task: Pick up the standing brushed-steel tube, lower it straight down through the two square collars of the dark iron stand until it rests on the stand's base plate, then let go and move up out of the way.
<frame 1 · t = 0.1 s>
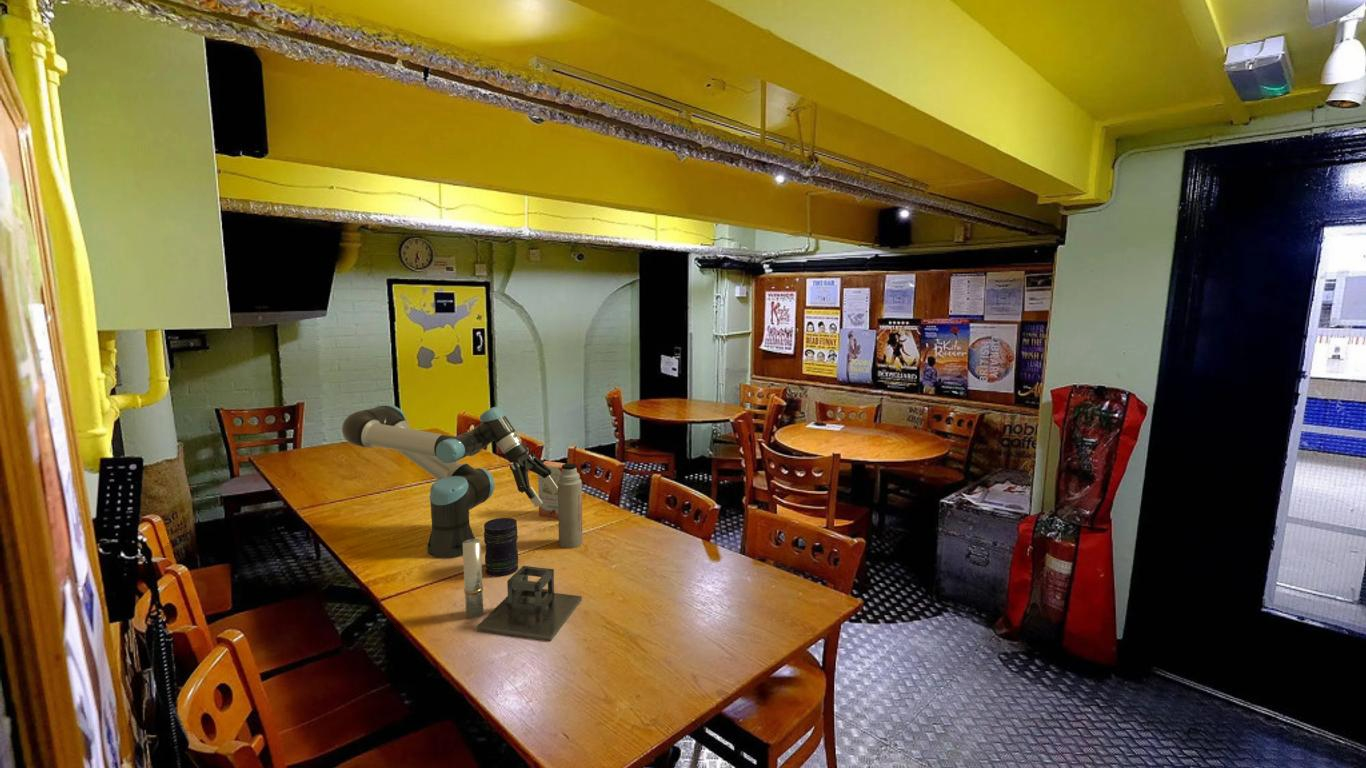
hand: (548, 498, 197), 15 cm above the table, tool tilted 35°, fingers open, 13 cm apart
cracker box: (557, 516, 223), on the table
collar stand: (532, 614, 152), on the table
storage jar: (502, 570, 178), on the table
steel tube: (474, 613, 152), on the table
thermos bottle: (570, 544, 197), on the table
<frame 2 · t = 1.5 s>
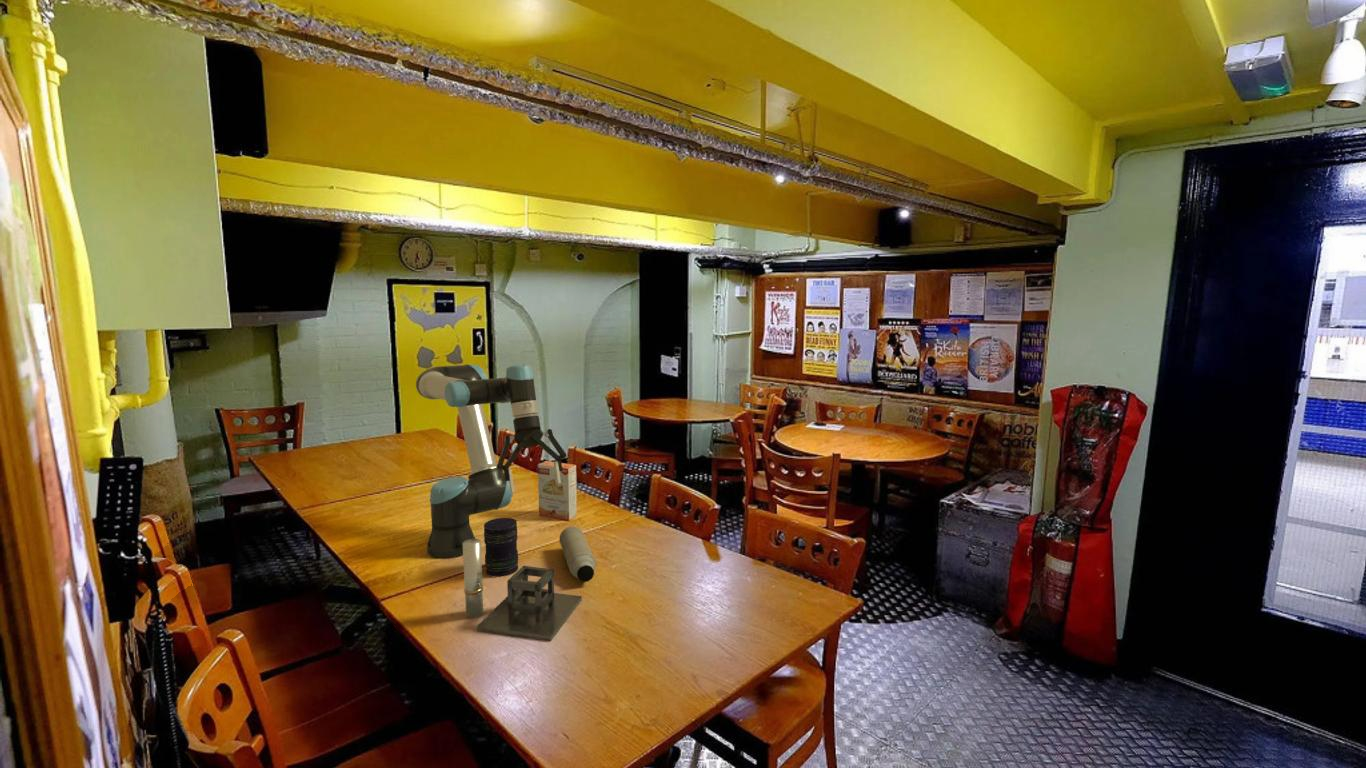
hand: (536, 487, 170), 28 cm above the table, tool tilted 15°, fingers open, 13 cm apart
thermos bottle: (571, 537, 193), point 4 cm above the table
everything else where it was.
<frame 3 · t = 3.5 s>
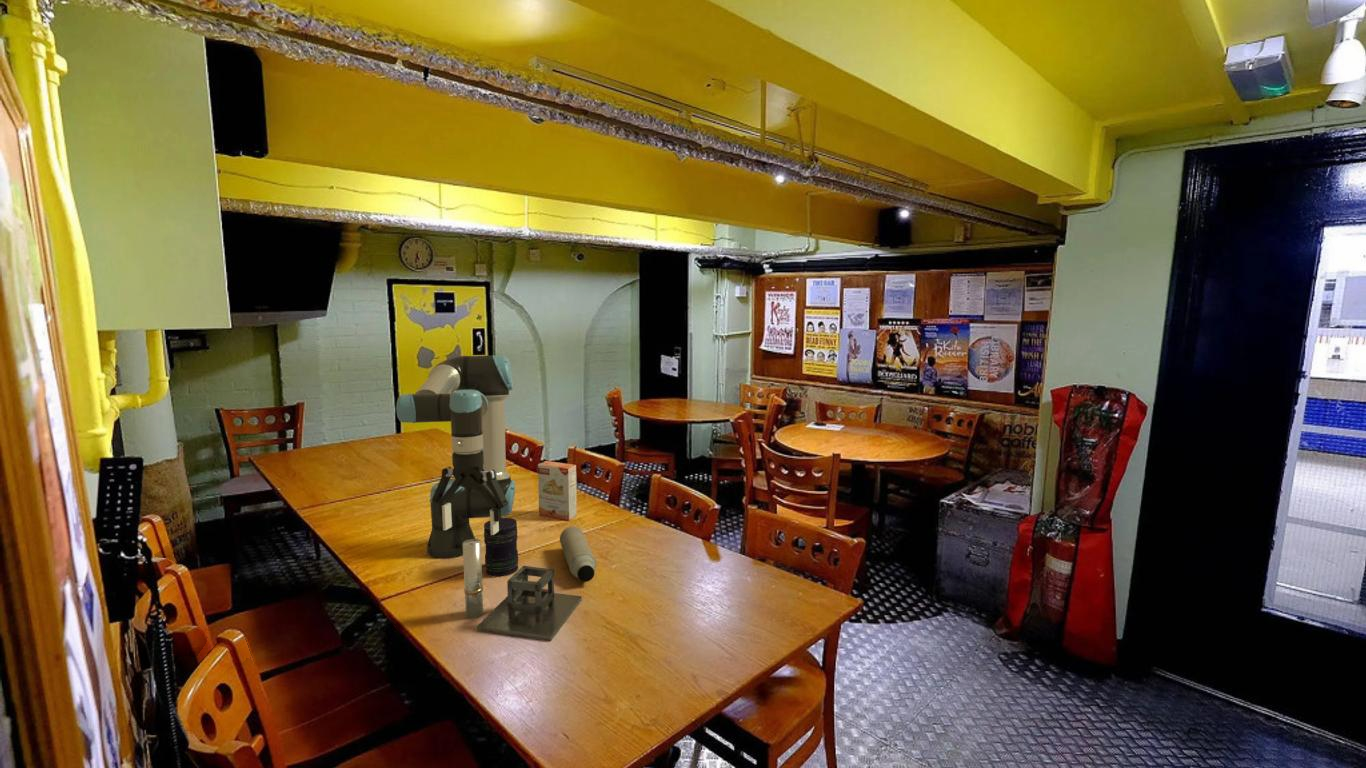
hand: (470, 530, 149), 23 cm above the table, tool pointing down, fingers open, 13 cm apart
nothing on the table moved.
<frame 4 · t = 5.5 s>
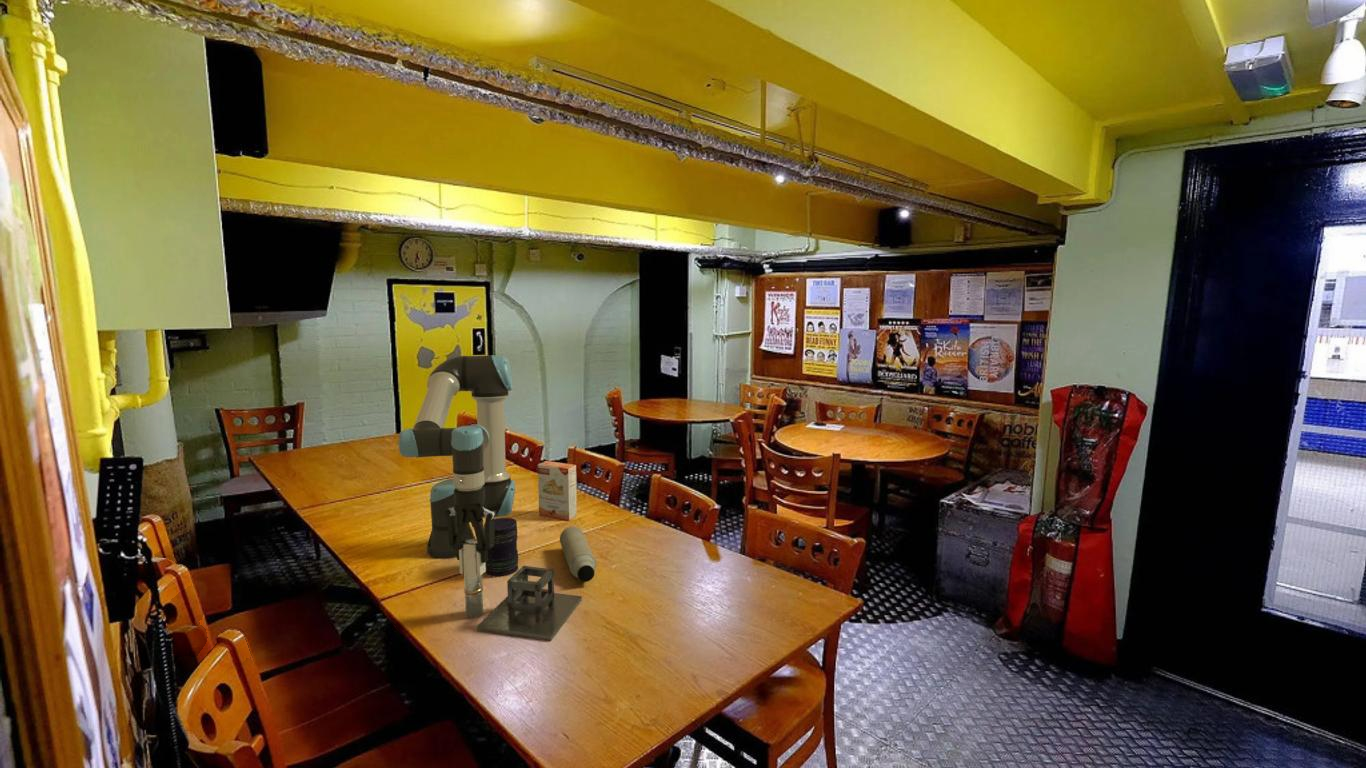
hand: (472, 572, 151), 12 cm above the table, tool pointing down, fingers closed on steel tube, 4 cm apart
steel tube: (474, 613, 152), on the table, touching gripper
everything else where it was.
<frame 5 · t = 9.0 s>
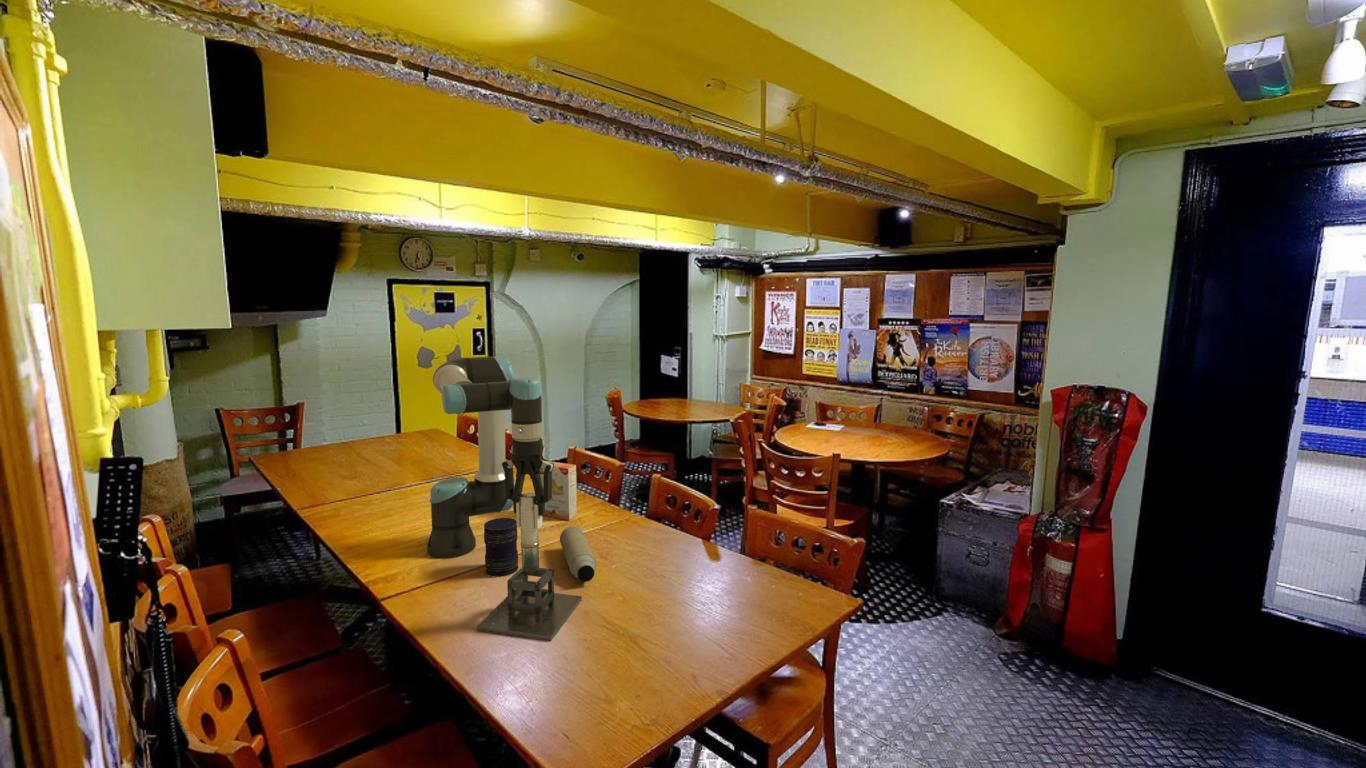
hand: (529, 526, 149), 25 cm above the table, tool pointing down, fingers closed on steel tube, 4 cm apart
steel tube: (530, 568, 150), point 13 cm above the table, touching gripper
everything else where it was.
when the fingers open (14 cm above the table, at t = 12.4 s): steel tube drops 1 cm, resting on collar stand.
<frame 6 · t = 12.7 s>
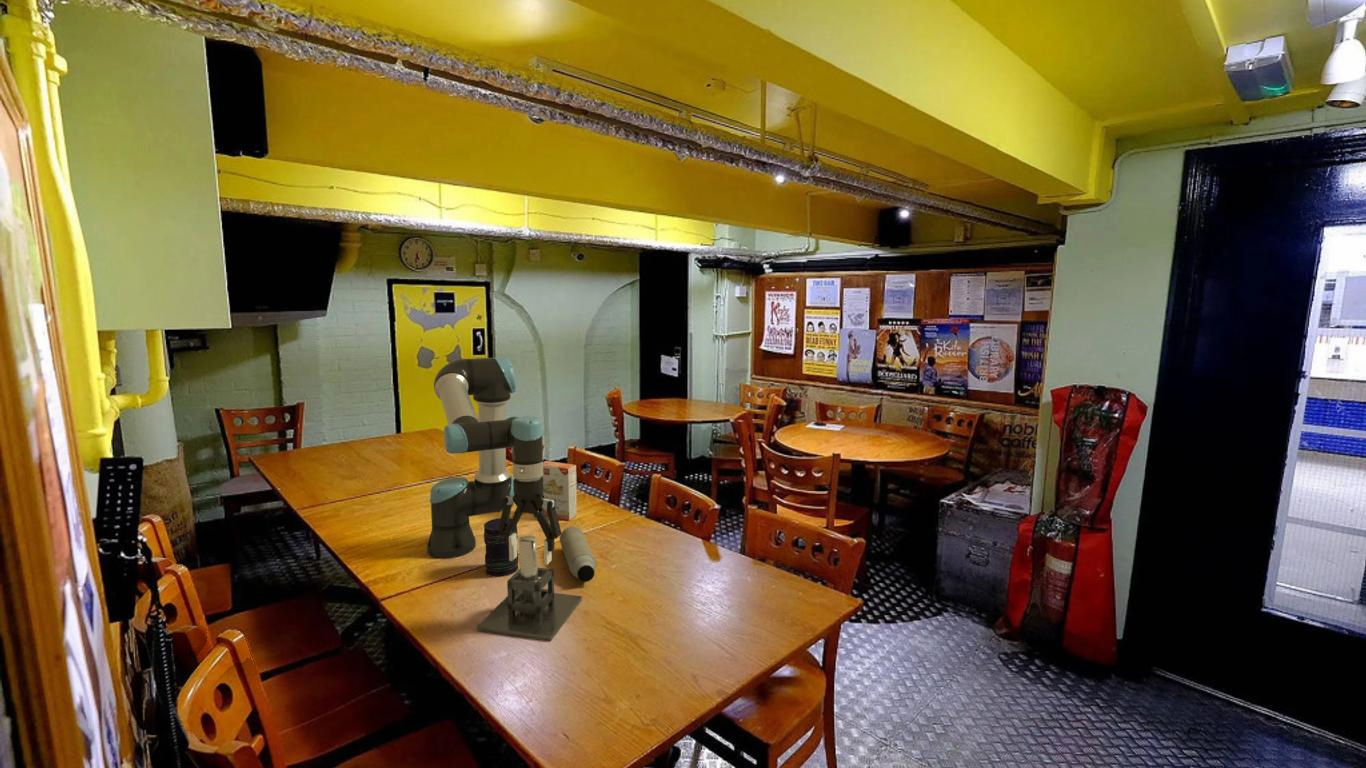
hand: (530, 560, 150), 15 cm above the table, tool pointing down, fingers open, 9 cm apart
steel tube: (531, 610, 152), point 1 cm above the table, touching collar stand
everything else where it was.
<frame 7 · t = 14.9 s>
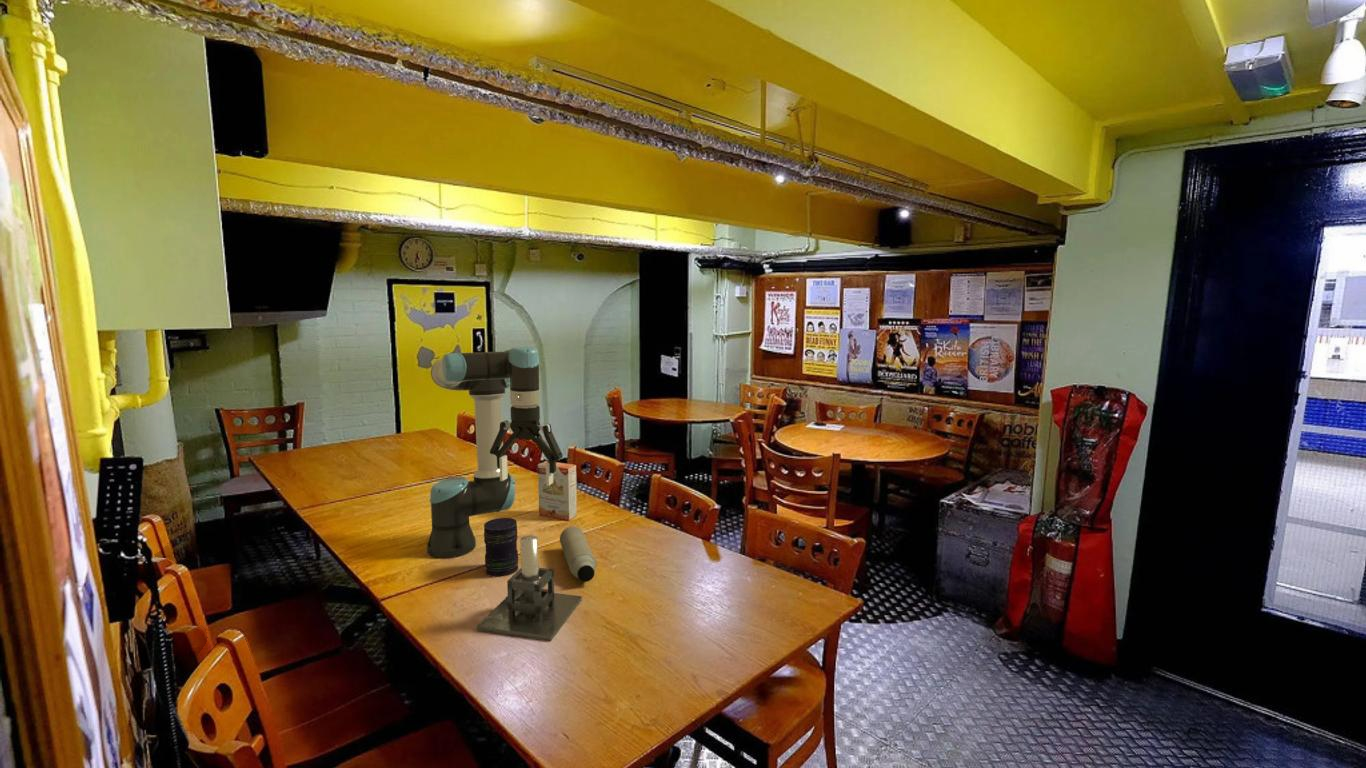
hand: (526, 481, 156), 34 cm above the table, tool pointing down, fingers open, 13 cm apart
nothing on the table moved.
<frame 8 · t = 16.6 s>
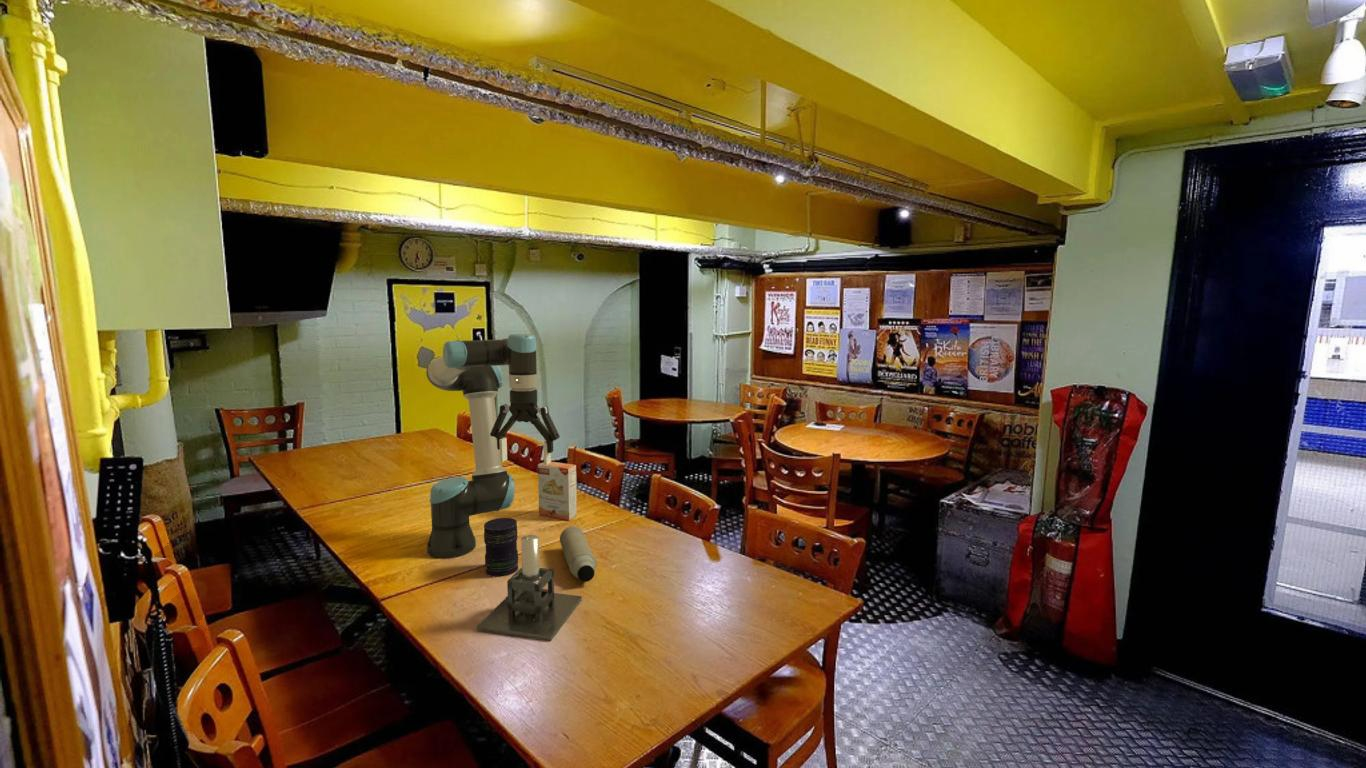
hand: (525, 462, 164), 37 cm above the table, tool pointing down, fingers open, 13 cm apart
nothing on the table moved.
at the end: steel tube 0.0 cm off-centre on the collar stand, point 1.2 cm above the collar stand's base; steel tube tilted 1°; the gripper is holding nothing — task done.
